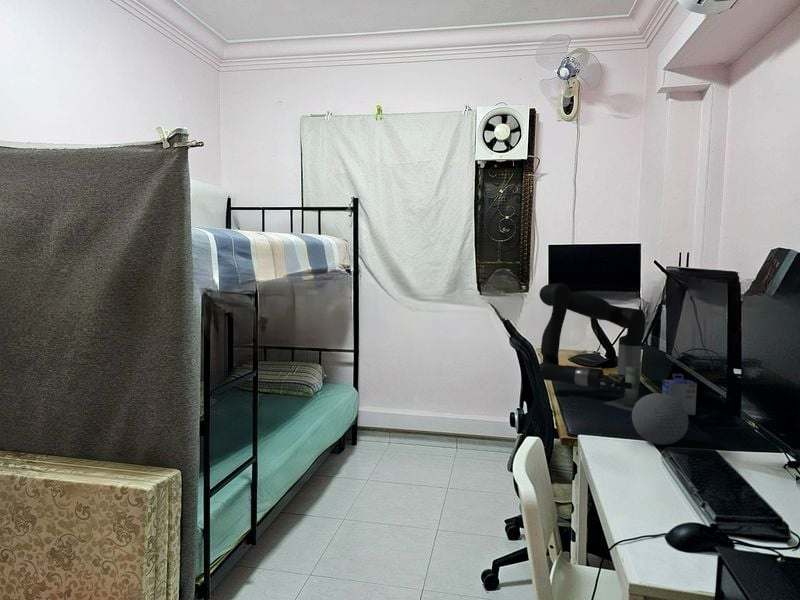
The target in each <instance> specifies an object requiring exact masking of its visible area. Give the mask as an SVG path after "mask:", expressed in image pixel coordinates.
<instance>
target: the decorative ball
mask: <svg viewBox="0 0 800 600" xmlns="http://www.w3.org/2000/svg"><path fill="white" fill-rule="evenodd" d="M631 420H632V421H631V422H632V425H633V428H634V429H635V431H636V433H637V434H638V435H639V436H640V437H641V438H643V439H644V440H645V441H647V442H649V443H651V442H652V444H655V445H660V446H665V445H666V446H667V445H671V444H675V443H676V442H678V441H680V440H681V439H682V438H683V437H684V436H685V434H686V433H687V431H688V427H689V415H687V412H686V410H685V408H684V407H683V405H682V404H681V403H680V402H679V401H678V400H676V399H675V398H673V397H671V396H669V395H666V394H662V392H661V393H658V392H655V393H649V394H647V395H644V396H642V397H640V398H639V399H638V401H637V403H636V404H635V406H634V408H633V411H631Z"/></svg>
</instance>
